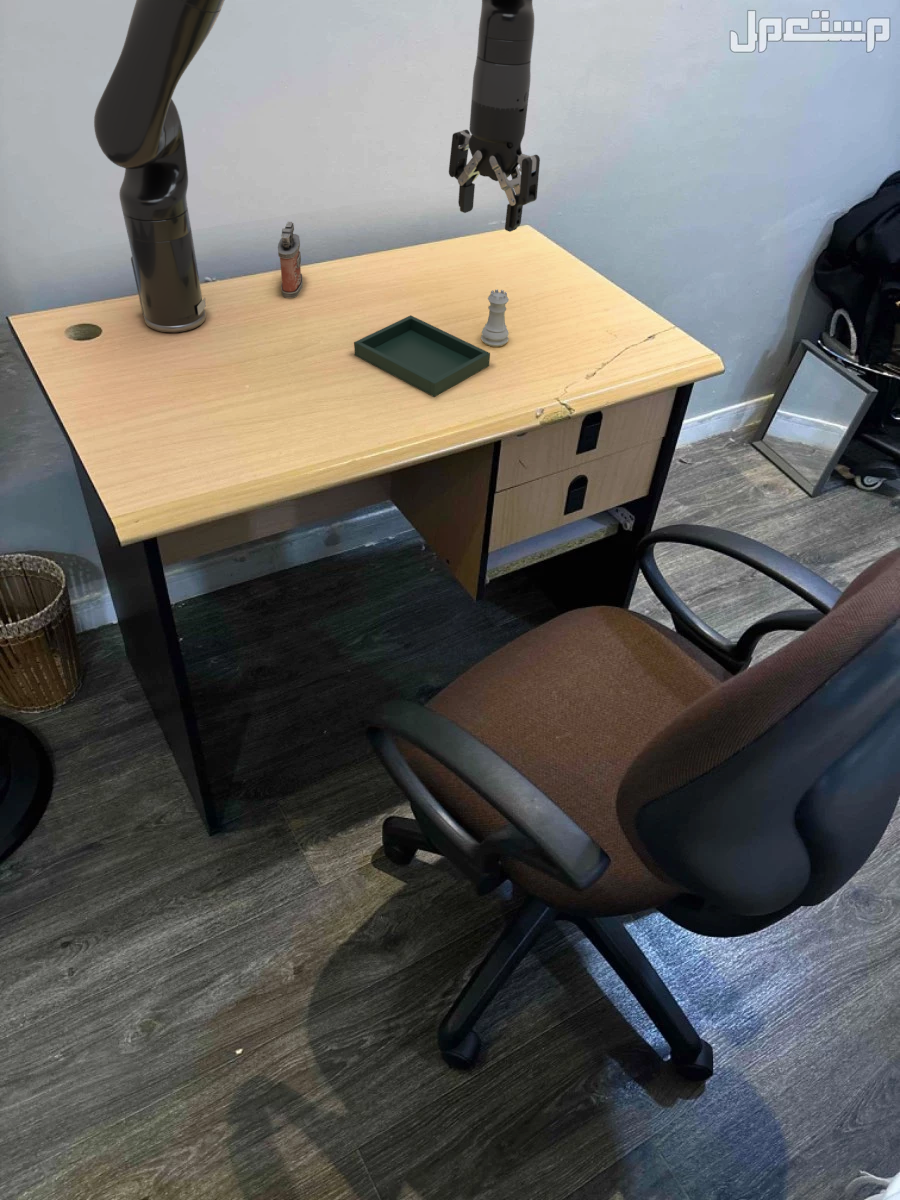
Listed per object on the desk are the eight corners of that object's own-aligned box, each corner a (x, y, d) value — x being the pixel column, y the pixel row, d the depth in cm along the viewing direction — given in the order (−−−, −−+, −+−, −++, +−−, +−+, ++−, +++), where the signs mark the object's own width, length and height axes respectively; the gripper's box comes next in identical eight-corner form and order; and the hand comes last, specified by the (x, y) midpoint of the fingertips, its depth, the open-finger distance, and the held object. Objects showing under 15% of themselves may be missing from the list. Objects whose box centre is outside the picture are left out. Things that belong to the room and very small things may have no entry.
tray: (354, 355, 135) (353, 342, 133) (410, 327, 142) (410, 314, 140) (434, 397, 127) (434, 383, 126) (489, 365, 134) (490, 353, 133)
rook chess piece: (514, 341, 140) (519, 293, 134) (495, 350, 138) (500, 302, 132) (493, 331, 142) (497, 283, 136) (474, 340, 140) (478, 292, 134)
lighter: (299, 298, 147) (294, 238, 140) (278, 297, 147) (273, 237, 140) (305, 277, 153) (301, 219, 145) (285, 276, 152) (280, 217, 145)
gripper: (441, 88, 117) (435, 211, 128) (525, 116, 111) (510, 243, 122) (477, 78, 121) (468, 199, 132) (559, 105, 115) (542, 229, 126)
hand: (488, 220), depth 127 cm, fingers open, 8 cm apart
